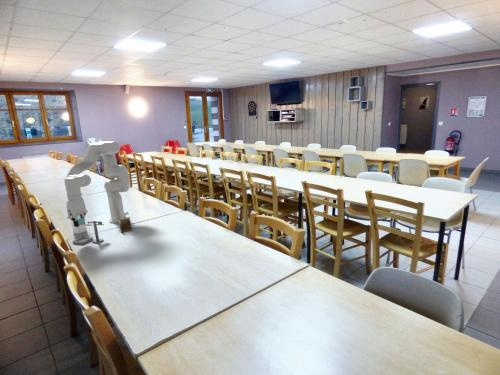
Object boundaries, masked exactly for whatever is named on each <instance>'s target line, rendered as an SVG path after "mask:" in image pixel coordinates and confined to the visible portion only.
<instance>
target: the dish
mask: <svg viewBox="0 0 500 375" xmlns="http://www.w3.org/2000/svg"><path fill="white" fill-rule="evenodd" d="M92 241H94V238H93V237H91V236H82V237H79V238H77V239H75V240H72V244H73V245H80V246H83V245H85V244H89V243H90V242H92Z"/></svg>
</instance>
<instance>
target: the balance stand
mask: <svg viewBox="0 0 500 375" xmlns="http://www.w3.org/2000/svg"><path fill="white" fill-rule="evenodd" d="M96 224H97V223H96ZM96 224H93V223H92V226H93V230H94V237H95V239H93V240H92V241H91V242H92V244H100V243H102V242H104V239H101V238H100V237H99V233H98V225H96Z"/></svg>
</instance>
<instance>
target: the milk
mask: <svg viewBox="0 0 500 375" xmlns="http://www.w3.org/2000/svg"><path fill="white" fill-rule="evenodd" d="M71 217H72V216H71ZM74 218H75V217H74ZM79 218H80V215H78V216H77V219H79ZM84 220H85V221H86V219H85V218H84ZM70 223H71V229H72V232H73V234H77V235H79V234H82V233H85V232H87V231H88V230H87V226H84V224H83V225H80V226H79V227H74V223H73V221H72V220H71V219H70Z"/></svg>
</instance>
